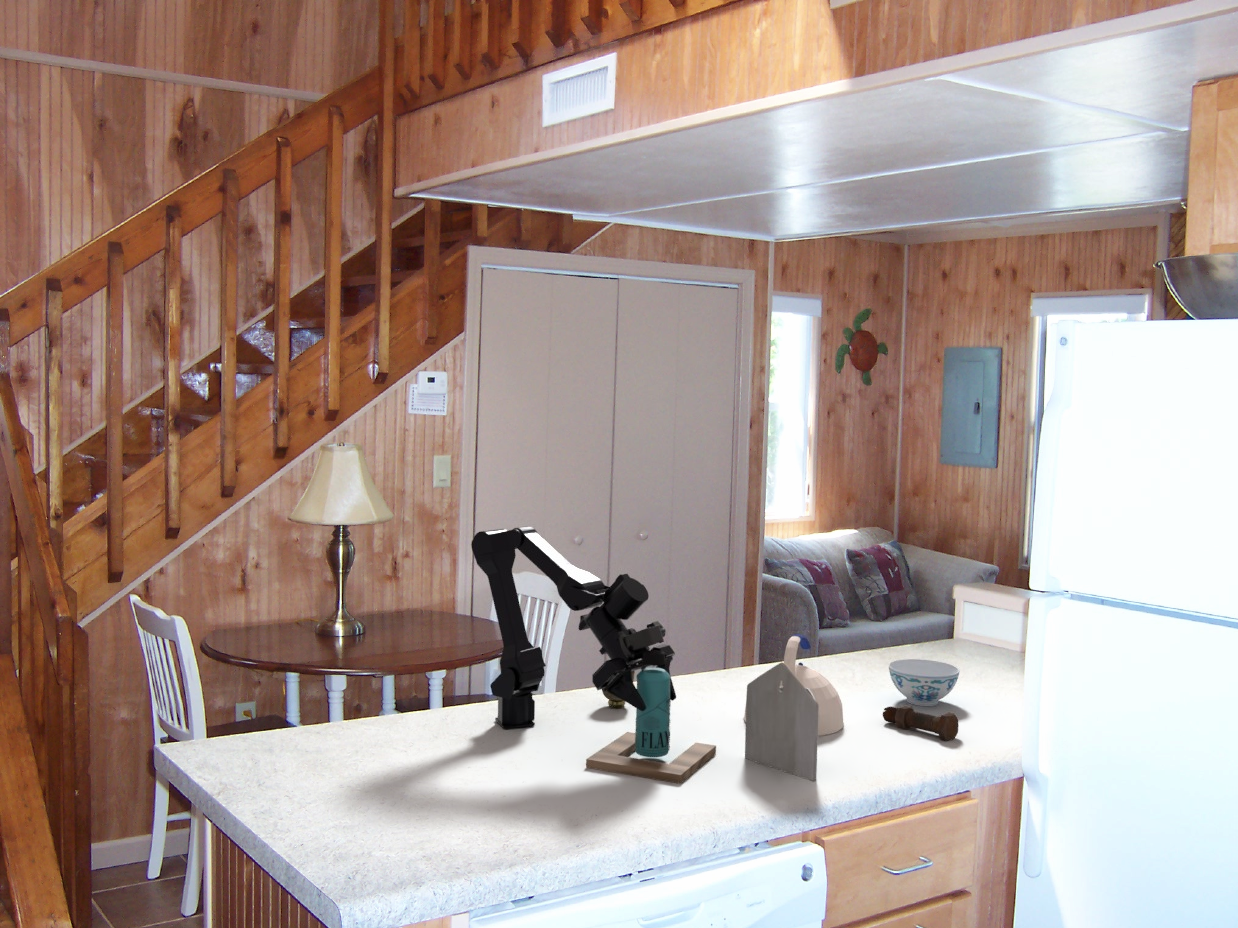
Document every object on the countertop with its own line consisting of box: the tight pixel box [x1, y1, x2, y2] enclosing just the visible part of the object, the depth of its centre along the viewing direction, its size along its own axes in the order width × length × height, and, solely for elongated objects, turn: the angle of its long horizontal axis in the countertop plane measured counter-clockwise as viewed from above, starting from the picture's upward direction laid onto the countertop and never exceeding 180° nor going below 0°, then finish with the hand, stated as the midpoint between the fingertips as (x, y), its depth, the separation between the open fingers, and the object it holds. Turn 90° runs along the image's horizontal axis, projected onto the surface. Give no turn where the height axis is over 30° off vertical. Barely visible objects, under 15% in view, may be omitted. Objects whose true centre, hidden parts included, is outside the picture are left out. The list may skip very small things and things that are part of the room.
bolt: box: [882, 705, 959, 742], centre depth 227 cm, size 6×5×15 cm
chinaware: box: [888, 658, 960, 707], centre depth 248 cm, size 15×15×8 cm
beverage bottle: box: [634, 649, 672, 758], centre depth 206 cm, size 6×7×20 cm
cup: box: [601, 670, 636, 709], centre depth 240 cm, size 8×7×8 cm
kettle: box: [743, 634, 845, 737], centre depth 231 cm, size 20×21×18 cm
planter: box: [744, 661, 819, 782], centre depth 204 cm, size 16×8×19 cm, turn 42°
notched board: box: [585, 731, 717, 785], centre depth 206 cm, size 18×18×2 cm
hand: (659, 704), depth 205 cm, fingers open, 9 cm apart
